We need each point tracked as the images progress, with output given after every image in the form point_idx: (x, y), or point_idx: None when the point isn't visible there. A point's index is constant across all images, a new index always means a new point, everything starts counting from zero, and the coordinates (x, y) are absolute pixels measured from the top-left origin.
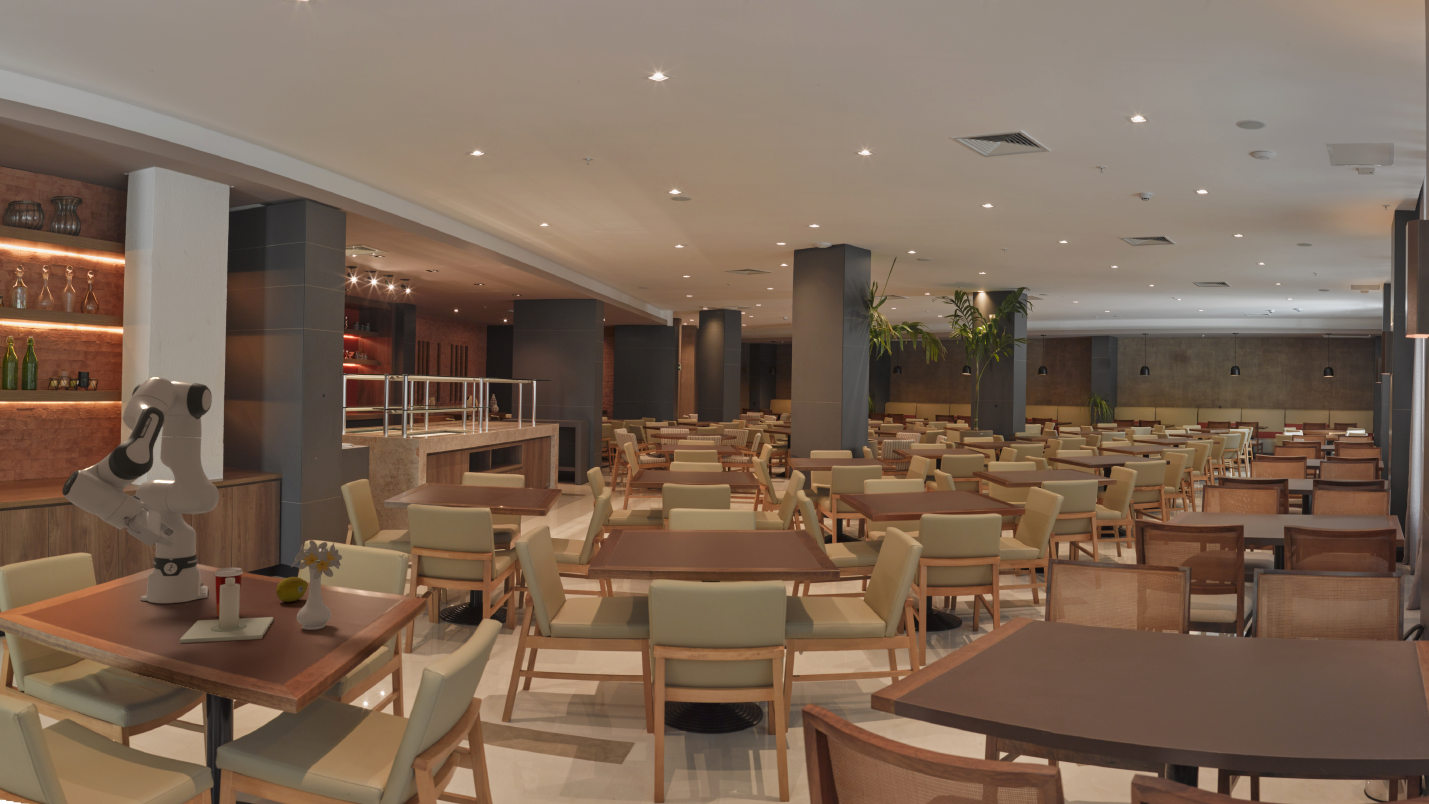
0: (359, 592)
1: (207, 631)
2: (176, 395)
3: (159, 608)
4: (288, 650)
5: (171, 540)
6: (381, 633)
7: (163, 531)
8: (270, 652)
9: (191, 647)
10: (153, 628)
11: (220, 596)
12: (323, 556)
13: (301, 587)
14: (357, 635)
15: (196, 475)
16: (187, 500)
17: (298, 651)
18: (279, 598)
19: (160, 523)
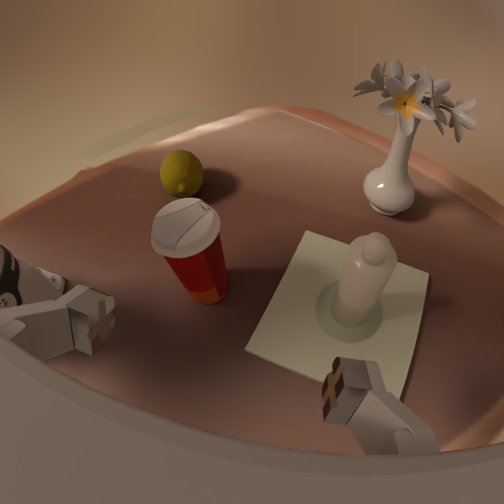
0: (205, 128)
1: (361, 350)
2: None
3: (70, 365)
4: (491, 261)
5: (369, 371)
6: (438, 164)
7: (68, 349)
8: (495, 282)
9: (434, 388)
10: (225, 434)
11: (374, 292)
12: (472, 101)
13: (199, 160)
14: (442, 182)
15: None
16: None
17: (496, 252)
18: (184, 197)
19: (112, 399)
